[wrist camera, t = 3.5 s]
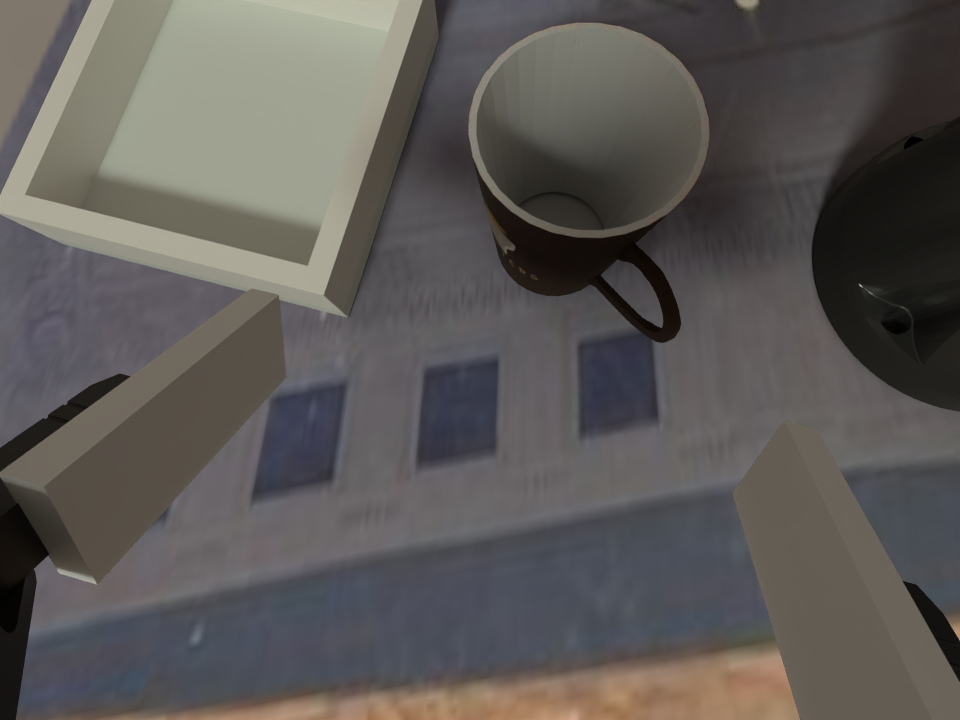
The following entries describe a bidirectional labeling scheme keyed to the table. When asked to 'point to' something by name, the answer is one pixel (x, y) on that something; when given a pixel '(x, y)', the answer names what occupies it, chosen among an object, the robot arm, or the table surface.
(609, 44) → the coffee mug
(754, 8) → the table surface
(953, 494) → the table surface
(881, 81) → the table surface
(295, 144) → the white storage tray
